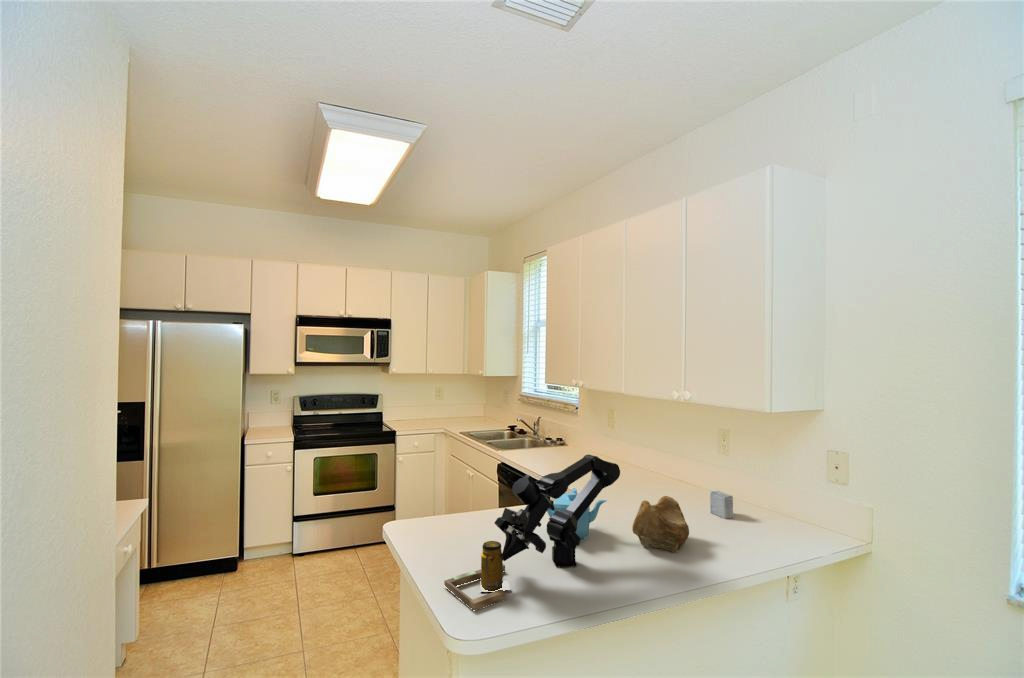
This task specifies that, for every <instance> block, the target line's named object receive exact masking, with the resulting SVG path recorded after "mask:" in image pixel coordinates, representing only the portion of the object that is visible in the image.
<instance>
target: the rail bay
mask: <svg viewBox="0 0 1024 678" xmlns="http://www.w3.org/2000/svg"><path fill="white" fill-rule="evenodd" d="M503 571H505V572H506V565H505V564H504V563H503ZM480 578H481V569H477V570H472V571H471V570H470V571H469V572H465V573H462V574H458V575H455V576H452V577H451V578H448V579H445V580H444V585H445V586H446V587H447V588H448V589H449V590H450V591H452V592H453V593H454V594H455V595H456V596H457V597H458V598H460V599H461V600H462V601H463V602H464V603H465V604H467V605H468V606H469V607H470V608H472V610H471V611H473V610H476V609H479V610H481V609H480V608H482V609H484V608H483V607H485V608H487V607H489V606H488V605H490V606H492V605H491V604H493V605H495V604H494V603H496V604H498V603H500V601H501V602H503V600H504V601H506V592H504V591H503V590H498V591H495V592H492V593H486V594H484V595H481V596H478V597H475V598H472V597H470V596H468V595H467V594H466V593H464V592H463V591H462V590H461V589H460V588H459V587H456V586H457V585H461V584H464V583H468V582H471V581H474V580H477V579H480ZM457 597H456V598H457ZM458 598H457V599H458ZM463 602H462V603H463ZM497 602H498V603H497ZM464 603H463V604H464ZM465 604H464V605H465ZM468 606H467V607H468ZM486 606H487V607H486ZM469 607H468V608H469ZM470 608H469V609H470ZM476 611H477V610H476Z"/></svg>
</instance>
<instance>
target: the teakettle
mask: <svg viewBox="0 0 1024 678" xmlns="http://www.w3.org/2000/svg"><path fill="white" fill-rule="evenodd" d="M578 494H579V493H578V489H577V488H576V487H574V488H572V491H571V492H568V493H566V492H565V493H564V494H563V495H562V496H561V497H560V498H558V499H554V509H555V510H554V511H553V510H550V509H548V510H547V512H546V513H547V515H548V517H549V518H550V517H552V515H553V514H554V512H555V511H556V510H559V511H565V510H566V509H567V508H568V506H569V505H570V504H571V503H572V501H573V500H574V499H575V498H576V496H577V495H578ZM545 497H546V498H547V499H548V500H549V497H548V496H545ZM606 502H608V500H606V499H600V500H597V501H596V502H595V504H594V505H593V506H594V507H593V509H592V510H591V509H590V508H591V507H590V506H591V505H590V506H589V507H588V508H587V510H586V511H585V512H584V513H583V515H582V516H581V517H580V519H579V520H578V522H577V530H576V532H575V533H576V534H577V535H578V536H579V537H580V540H584V539H588V537H589V529H590V525H591V524H590V523H593V522H594V521H595V520H596V518H597V516H598V513H599V510H600V507H601V506H602V505H603V504H604V503H606ZM590 510H591V511H590ZM584 541H585V540H584Z"/></svg>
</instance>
